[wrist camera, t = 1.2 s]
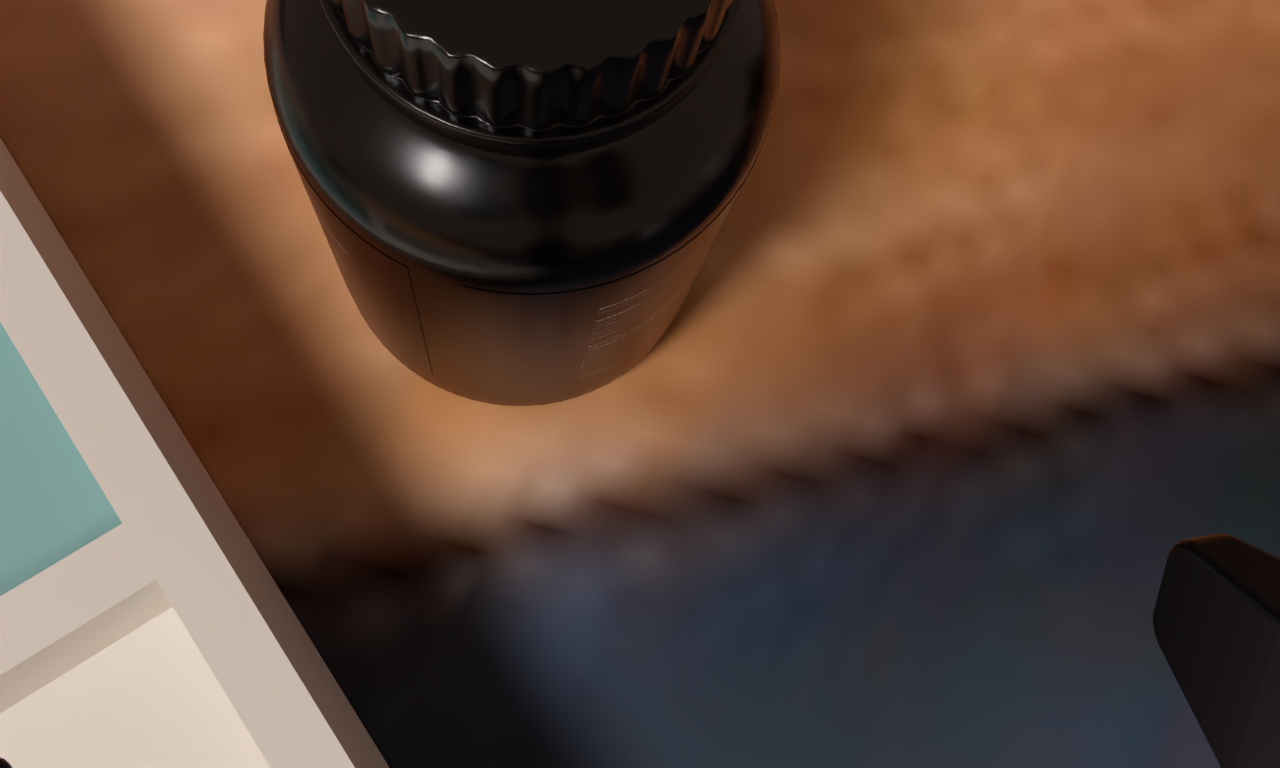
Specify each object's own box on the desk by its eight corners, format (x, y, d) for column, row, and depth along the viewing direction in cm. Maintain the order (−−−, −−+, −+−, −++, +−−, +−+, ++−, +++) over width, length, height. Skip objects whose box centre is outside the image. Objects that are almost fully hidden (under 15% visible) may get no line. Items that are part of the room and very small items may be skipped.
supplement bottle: (651, 63, 25) (797, -442, 13) (719, 380, 24) (945, 128, 12) (313, 105, 24) (153, -405, 12) (366, 441, 23) (244, 227, 11)
